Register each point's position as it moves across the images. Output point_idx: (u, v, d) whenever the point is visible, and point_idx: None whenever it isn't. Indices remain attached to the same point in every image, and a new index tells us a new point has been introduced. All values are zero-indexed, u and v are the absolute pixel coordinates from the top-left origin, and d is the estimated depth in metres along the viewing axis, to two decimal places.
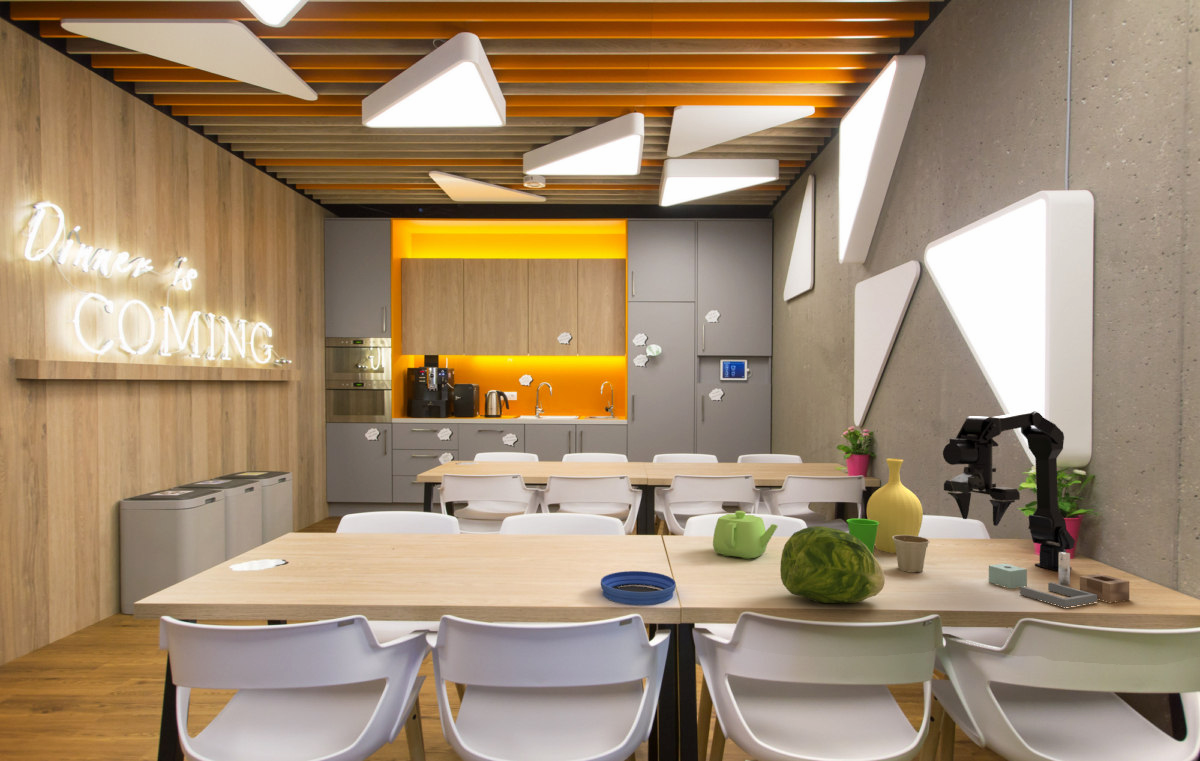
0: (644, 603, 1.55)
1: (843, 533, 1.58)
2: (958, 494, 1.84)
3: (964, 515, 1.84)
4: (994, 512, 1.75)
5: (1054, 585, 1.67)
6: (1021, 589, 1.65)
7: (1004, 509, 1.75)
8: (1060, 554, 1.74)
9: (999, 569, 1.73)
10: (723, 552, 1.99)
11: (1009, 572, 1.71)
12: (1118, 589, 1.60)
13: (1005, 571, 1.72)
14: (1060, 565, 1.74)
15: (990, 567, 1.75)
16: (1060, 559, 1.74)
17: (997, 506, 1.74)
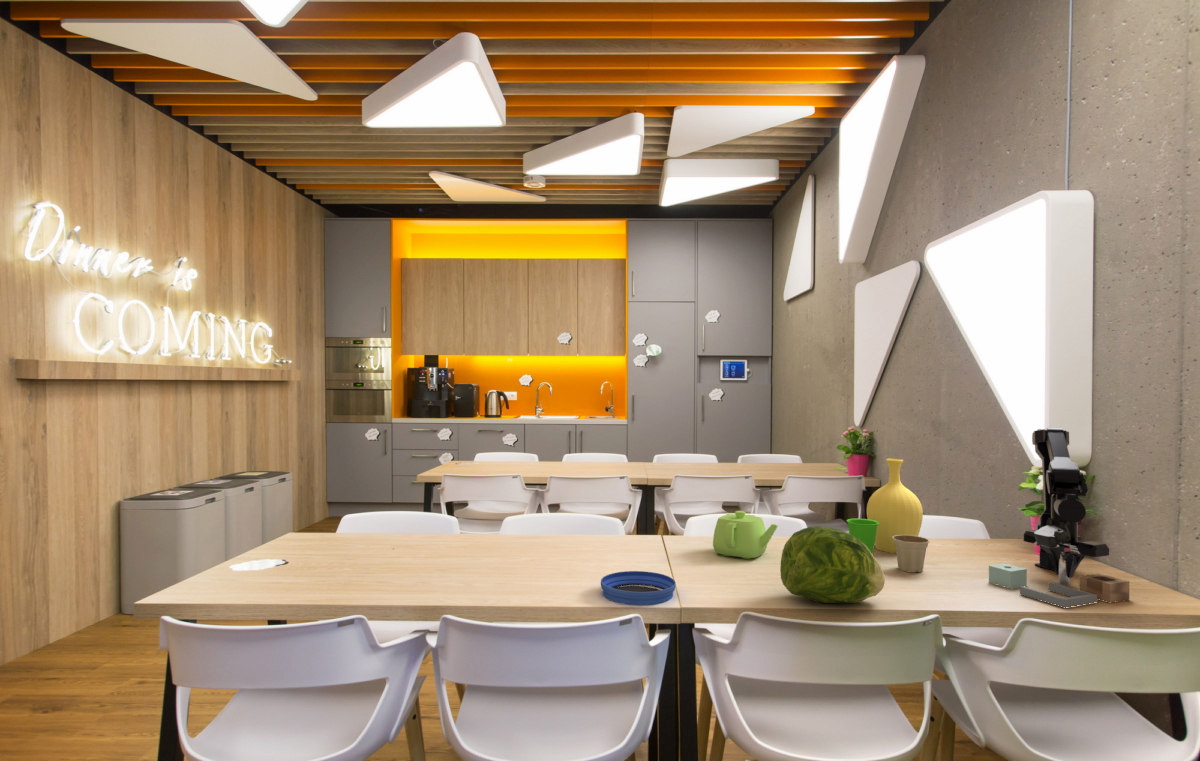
0: (644, 603, 1.55)
1: (843, 533, 1.58)
2: (1052, 549, 1.76)
3: (1058, 571, 1.76)
4: (1068, 564, 1.72)
5: (1054, 585, 1.67)
6: (1021, 589, 1.65)
7: (1078, 561, 1.73)
8: (1060, 554, 1.74)
9: (999, 569, 1.73)
10: (723, 552, 1.99)
11: (1010, 572, 1.70)
12: (1118, 589, 1.60)
13: (1005, 571, 1.71)
14: (1060, 565, 1.74)
15: (990, 567, 1.75)
16: (1060, 559, 1.74)
17: (1072, 558, 1.71)
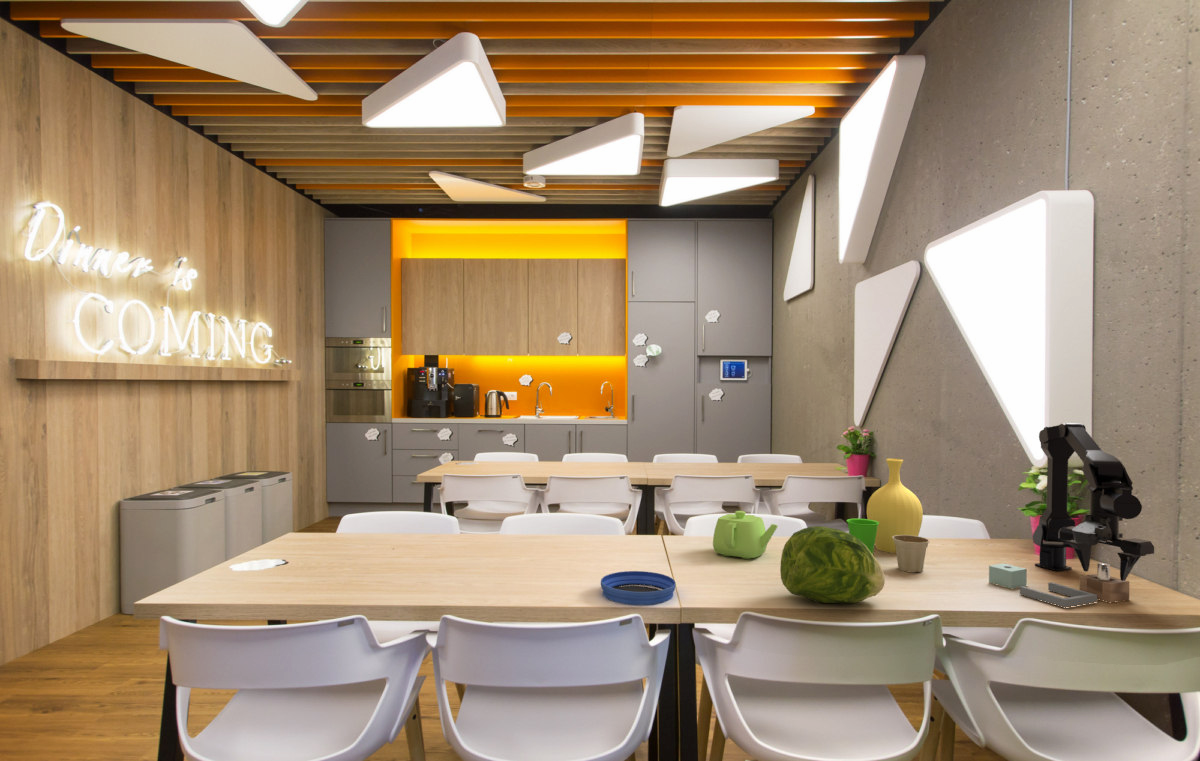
0: (644, 603, 1.55)
1: (843, 533, 1.58)
2: (1079, 544, 1.67)
3: (1085, 567, 1.67)
4: (1122, 566, 1.59)
5: (1054, 585, 1.67)
6: (1021, 589, 1.65)
7: (1133, 563, 1.59)
8: (1099, 565, 1.63)
9: (1000, 569, 1.73)
10: (723, 552, 1.99)
11: (1010, 572, 1.70)
12: (1118, 589, 1.60)
13: (1006, 571, 1.71)
14: (1099, 577, 1.63)
15: (990, 567, 1.75)
16: (1099, 571, 1.63)
17: (1126, 560, 1.58)
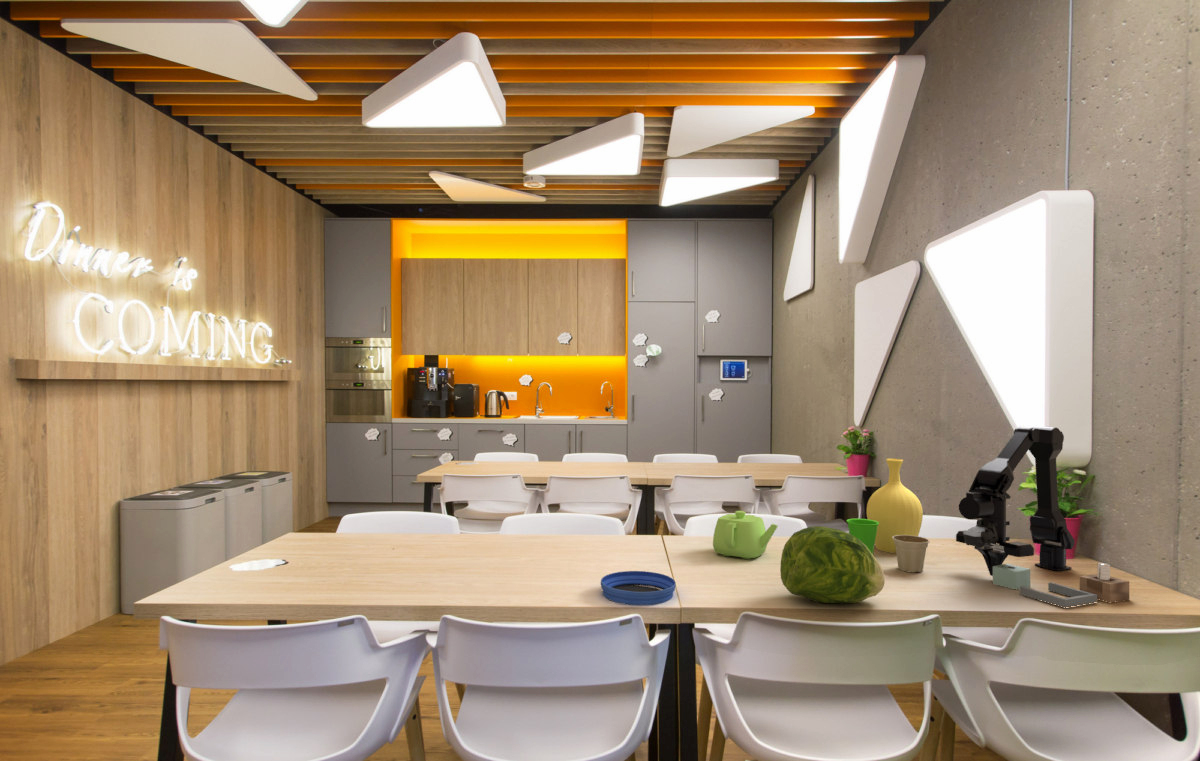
0: (644, 603, 1.55)
1: (843, 533, 1.58)
2: (985, 550, 1.78)
3: (992, 571, 1.78)
4: (992, 563, 1.77)
5: (1054, 585, 1.67)
6: (1021, 589, 1.65)
7: (1002, 560, 1.77)
8: (1099, 565, 1.63)
9: (1004, 570, 1.72)
10: (723, 552, 1.99)
11: (1015, 573, 1.69)
12: (1118, 589, 1.60)
13: (1011, 572, 1.70)
14: (1099, 577, 1.63)
15: (994, 568, 1.74)
16: (1099, 571, 1.63)
17: (995, 557, 1.76)
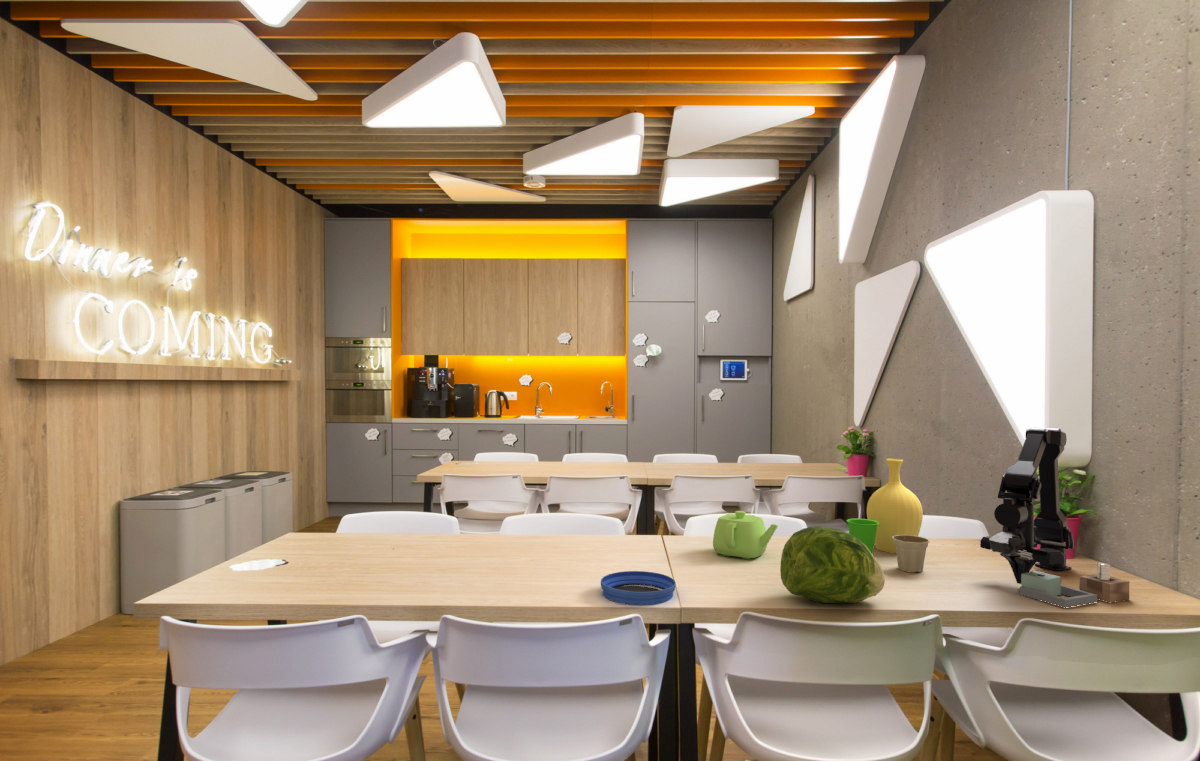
0: (644, 603, 1.55)
1: (843, 533, 1.58)
2: (1012, 556, 1.71)
3: (1019, 579, 1.71)
4: (1019, 570, 1.70)
5: None
6: (1021, 589, 1.65)
7: (1029, 567, 1.70)
8: (1099, 565, 1.63)
9: (1034, 578, 1.65)
10: (723, 552, 1.99)
11: (1046, 581, 1.62)
12: (1118, 589, 1.60)
13: (1041, 580, 1.63)
14: (1099, 577, 1.63)
15: (1023, 575, 1.67)
16: (1099, 571, 1.63)
17: (1022, 564, 1.69)
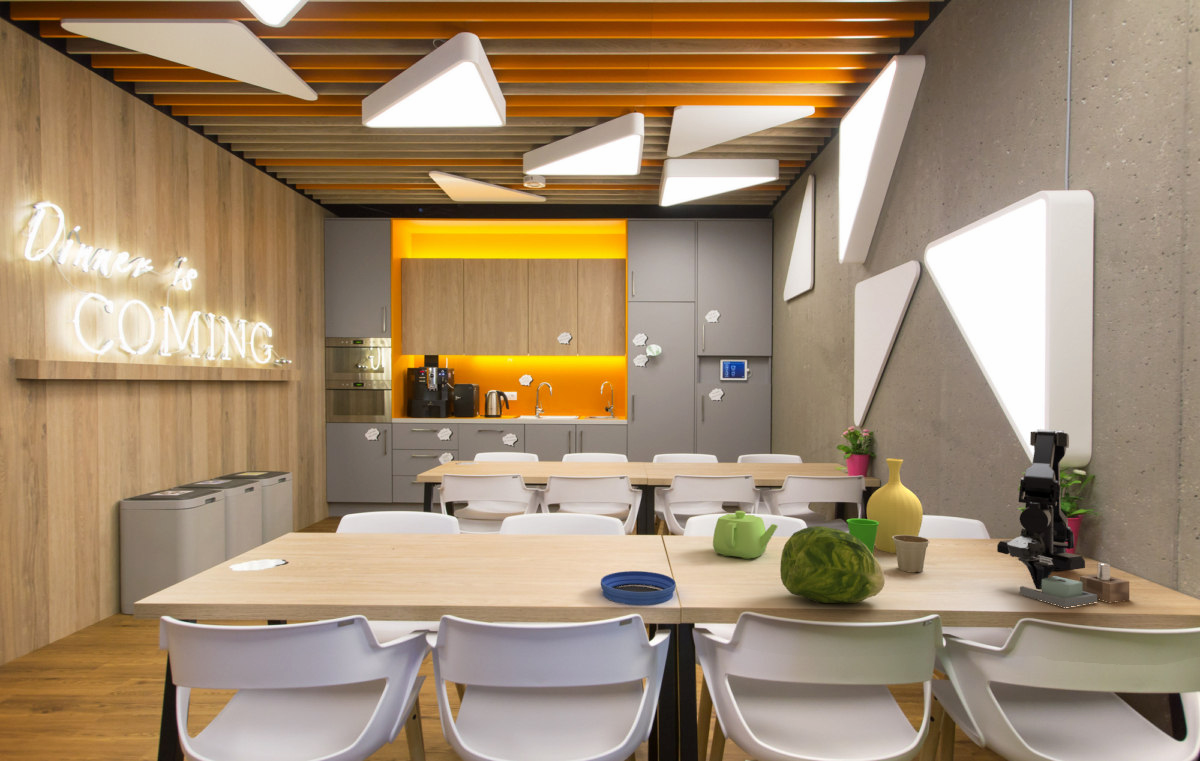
0: (644, 603, 1.55)
1: (843, 533, 1.58)
2: (1031, 561, 1.66)
3: (1037, 585, 1.66)
4: (1038, 576, 1.65)
5: None
6: (1021, 589, 1.65)
7: (1049, 572, 1.65)
8: (1099, 565, 1.63)
9: (1055, 583, 1.60)
10: (723, 552, 1.99)
11: (1068, 586, 1.58)
12: (1118, 589, 1.60)
13: (1062, 585, 1.59)
14: (1099, 577, 1.63)
15: (1043, 581, 1.62)
16: (1099, 571, 1.63)
17: (1042, 570, 1.64)
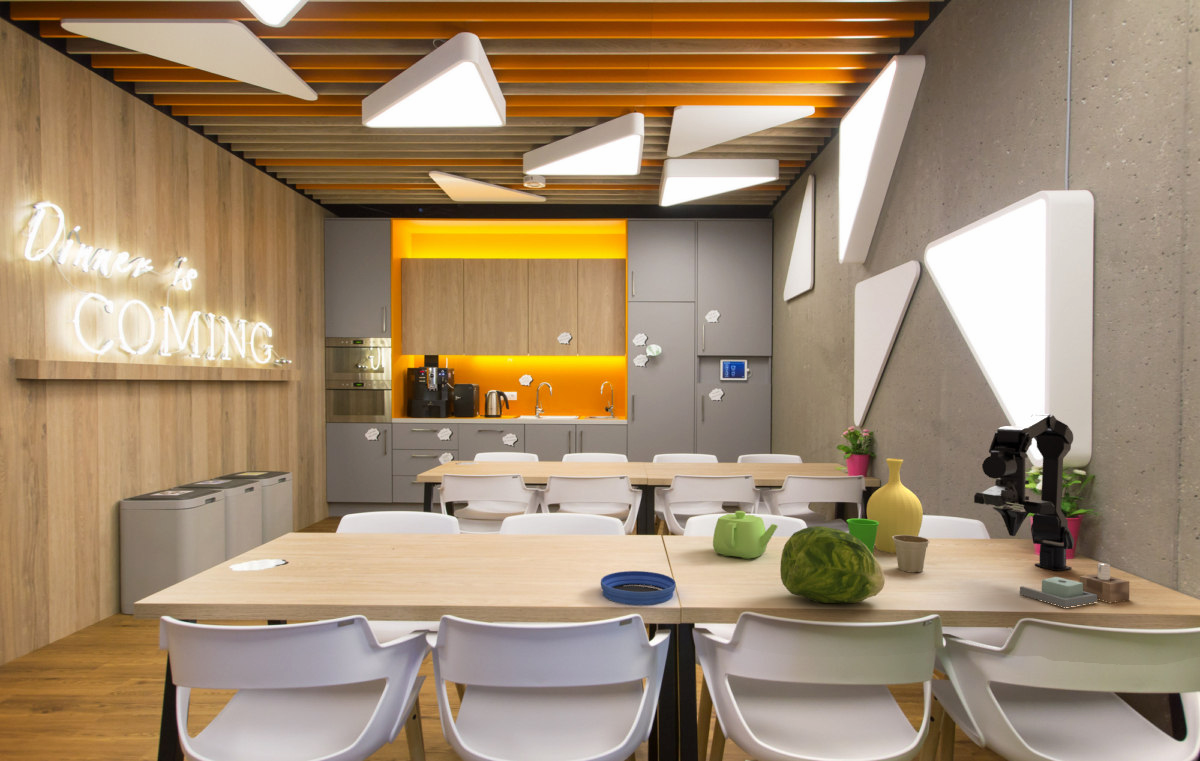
0: (644, 603, 1.55)
1: (843, 533, 1.58)
2: (1004, 510, 1.76)
3: (1011, 531, 1.76)
4: (1012, 522, 1.75)
5: None
6: (1021, 589, 1.65)
7: (1022, 519, 1.75)
8: (1099, 565, 1.63)
9: (1055, 584, 1.60)
10: (723, 552, 1.99)
11: (1067, 587, 1.58)
12: (1118, 589, 1.60)
13: (1062, 586, 1.59)
14: (1099, 577, 1.63)
15: (1043, 582, 1.63)
16: (1099, 571, 1.63)
17: (1015, 517, 1.74)
